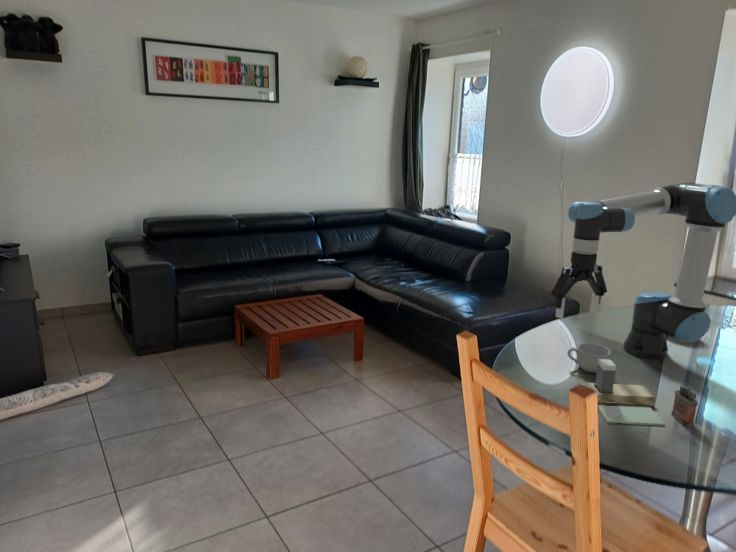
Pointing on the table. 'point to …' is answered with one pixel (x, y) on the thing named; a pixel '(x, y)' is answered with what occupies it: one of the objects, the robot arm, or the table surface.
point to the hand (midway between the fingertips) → (576, 315)
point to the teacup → (589, 356)
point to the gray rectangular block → (605, 376)
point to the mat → (633, 416)
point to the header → (625, 394)
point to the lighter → (684, 406)
